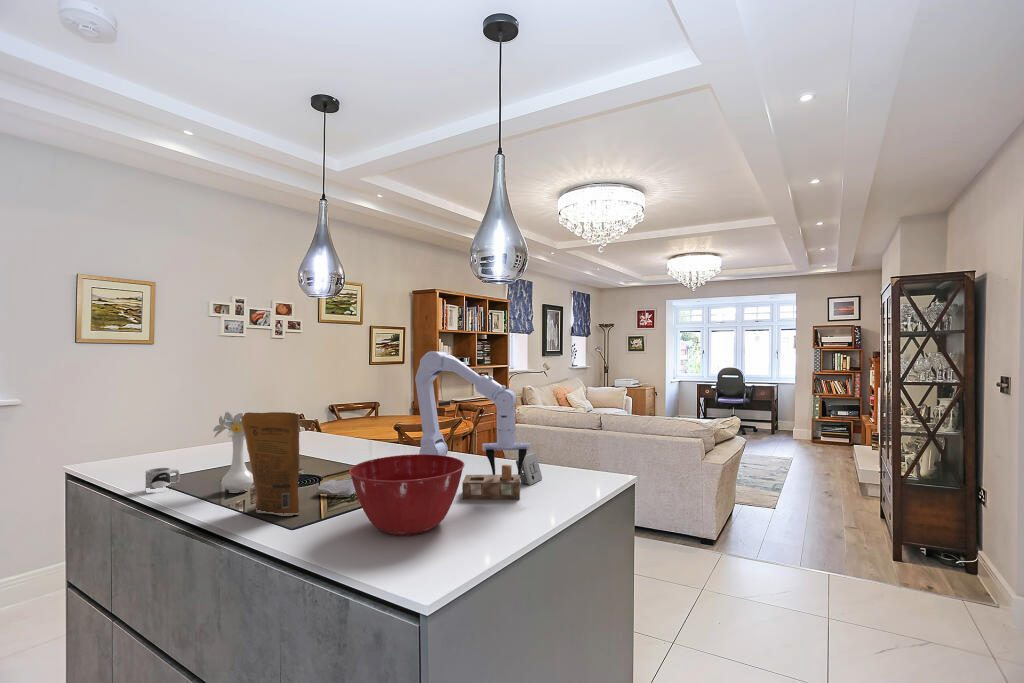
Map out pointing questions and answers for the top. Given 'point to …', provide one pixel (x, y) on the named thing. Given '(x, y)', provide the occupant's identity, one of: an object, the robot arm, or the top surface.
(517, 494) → the socket block
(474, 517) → the top surface
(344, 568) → the top surface
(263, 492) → the pancake mix bag
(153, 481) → the mug
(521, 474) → the electrical switch
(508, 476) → the peg
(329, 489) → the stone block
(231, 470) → the flower vase
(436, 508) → the mixing bowl
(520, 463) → the robot arm
